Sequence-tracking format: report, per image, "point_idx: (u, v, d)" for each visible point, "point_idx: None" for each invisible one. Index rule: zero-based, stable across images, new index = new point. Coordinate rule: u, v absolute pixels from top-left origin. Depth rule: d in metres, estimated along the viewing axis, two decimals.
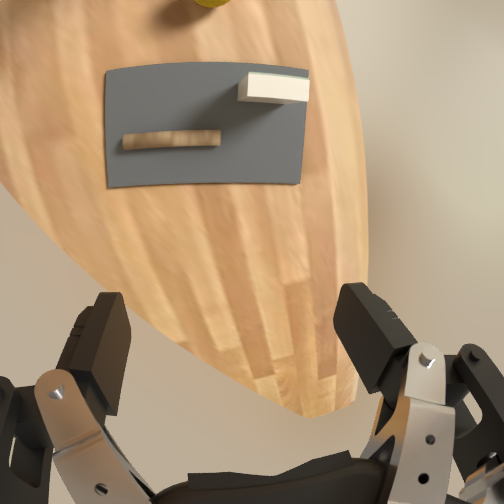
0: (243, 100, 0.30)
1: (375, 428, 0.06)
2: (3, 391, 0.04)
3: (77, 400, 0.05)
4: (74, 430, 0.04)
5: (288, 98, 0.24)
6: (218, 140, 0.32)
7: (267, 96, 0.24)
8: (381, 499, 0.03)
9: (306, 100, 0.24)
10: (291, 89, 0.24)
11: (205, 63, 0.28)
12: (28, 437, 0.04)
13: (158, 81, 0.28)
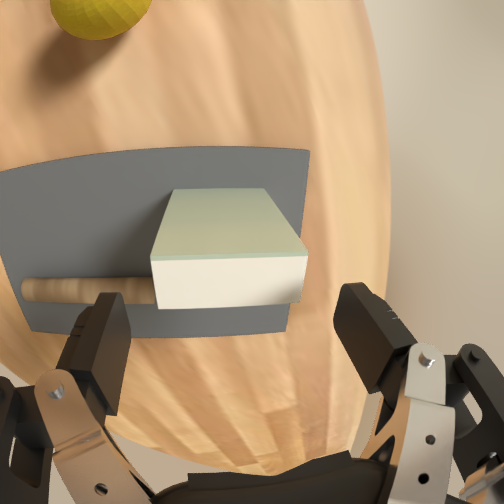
0: None
1: (375, 428, 0.06)
2: (3, 391, 0.04)
3: (77, 400, 0.05)
4: (74, 430, 0.04)
5: (253, 303, 0.12)
6: (148, 301, 0.19)
7: (203, 305, 0.11)
8: (381, 499, 0.03)
9: (295, 300, 0.12)
10: (260, 284, 0.11)
11: (111, 156, 0.16)
12: (28, 437, 0.04)
13: (47, 195, 0.16)
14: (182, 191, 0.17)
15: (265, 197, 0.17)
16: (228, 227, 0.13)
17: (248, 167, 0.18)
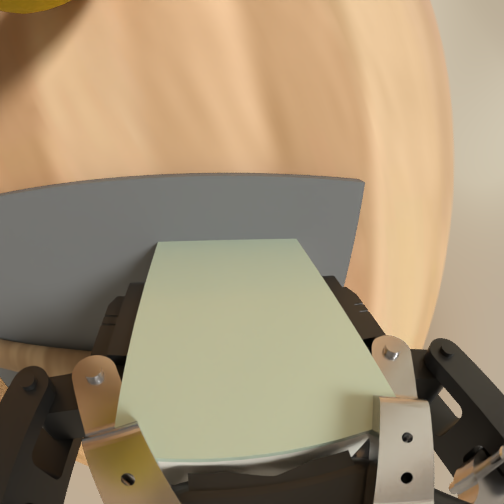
0: None
1: None
2: (37, 380, 0.05)
3: (120, 384, 0.05)
4: (109, 417, 0.04)
5: None
6: None
7: None
8: (366, 503, 0.03)
9: None
10: None
11: (63, 190, 0.10)
12: (57, 429, 0.05)
13: None
14: (171, 247, 0.11)
15: (304, 260, 0.11)
16: (256, 359, 0.06)
17: (274, 208, 0.12)
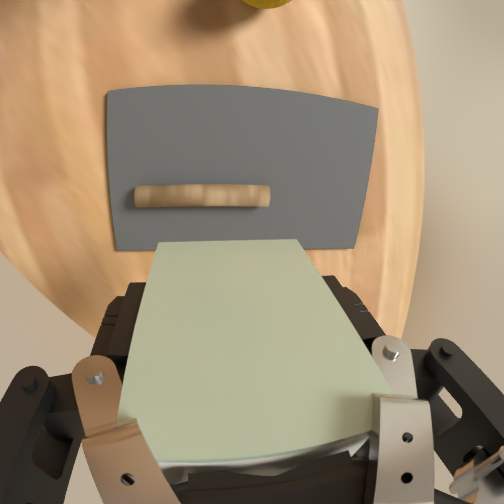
0: None
1: None
2: (36, 380, 0.05)
3: (120, 384, 0.05)
4: (109, 417, 0.04)
5: None
6: (267, 202, 0.25)
7: None
8: (366, 503, 0.03)
9: None
10: None
11: (250, 88, 0.22)
12: (57, 429, 0.05)
13: (183, 110, 0.22)
14: (171, 248, 0.11)
15: (304, 261, 0.11)
16: (257, 360, 0.06)
17: (342, 113, 0.24)
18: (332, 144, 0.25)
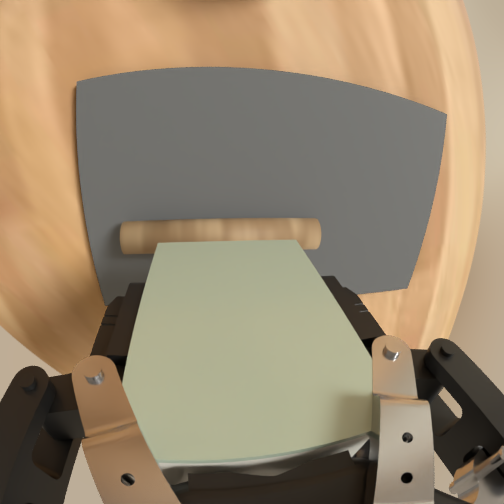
0: None
1: None
2: (36, 381, 0.05)
3: (120, 384, 0.05)
4: (109, 417, 0.04)
5: None
6: (316, 244, 0.17)
7: None
8: (366, 503, 0.03)
9: None
10: None
11: (291, 75, 0.14)
12: (57, 429, 0.05)
13: (190, 107, 0.14)
14: (171, 248, 0.11)
15: (304, 262, 0.11)
16: (256, 361, 0.06)
17: (409, 117, 0.16)
18: (396, 160, 0.17)
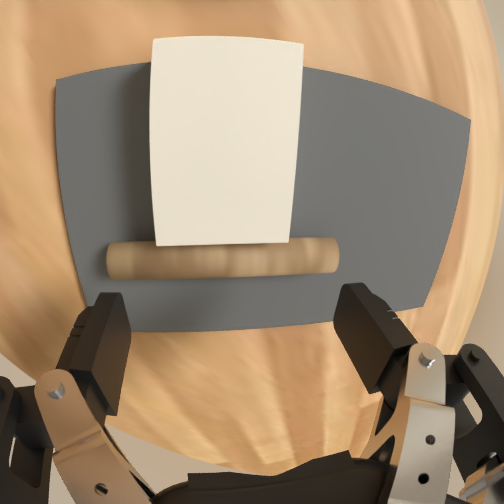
0: (164, 204, 0.11)
1: (375, 428, 0.06)
2: (3, 391, 0.04)
3: (77, 400, 0.05)
4: (74, 430, 0.04)
5: (254, 39, 0.09)
6: (333, 268, 0.15)
7: (201, 37, 0.08)
8: (381, 499, 0.03)
9: (298, 43, 0.09)
10: None
11: (306, 71, 0.12)
12: (28, 437, 0.04)
13: None
14: None
15: None
16: None
17: (434, 123, 0.14)
18: (420, 170, 0.15)
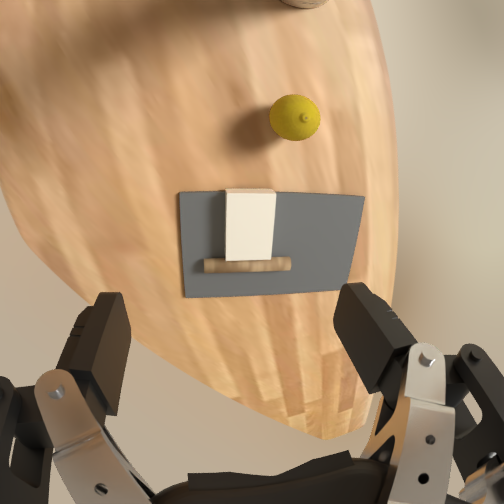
0: (230, 247, 0.36)
1: (375, 428, 0.06)
2: (3, 391, 0.04)
3: (77, 400, 0.05)
4: (74, 430, 0.04)
5: (260, 193, 0.34)
6: (289, 268, 0.40)
7: (242, 193, 0.33)
8: (381, 499, 0.03)
9: (274, 193, 0.34)
10: (260, 191, 0.34)
11: (279, 194, 0.37)
12: (28, 437, 0.04)
13: None
14: None
15: None
16: None
17: (339, 204, 0.39)
18: (331, 226, 0.40)
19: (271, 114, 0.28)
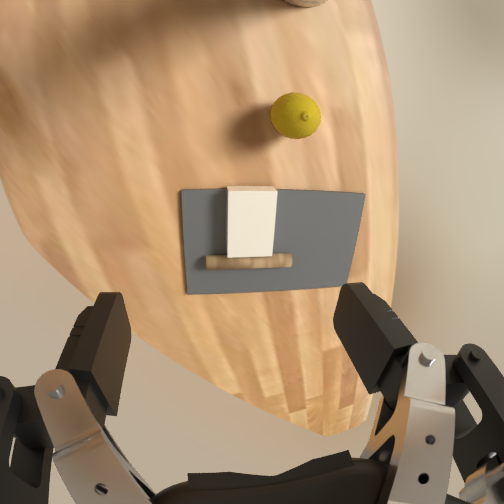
0: (231, 244, 0.36)
1: (375, 428, 0.06)
2: (3, 391, 0.04)
3: (77, 400, 0.05)
4: (74, 430, 0.04)
5: (261, 191, 0.34)
6: (290, 265, 0.40)
7: (244, 190, 0.34)
8: (381, 499, 0.03)
9: (275, 190, 0.34)
10: (261, 188, 0.35)
11: (280, 191, 0.37)
12: (28, 437, 0.04)
13: None
14: None
15: None
16: None
17: (339, 201, 0.39)
18: (332, 223, 0.40)
19: (272, 112, 0.28)
